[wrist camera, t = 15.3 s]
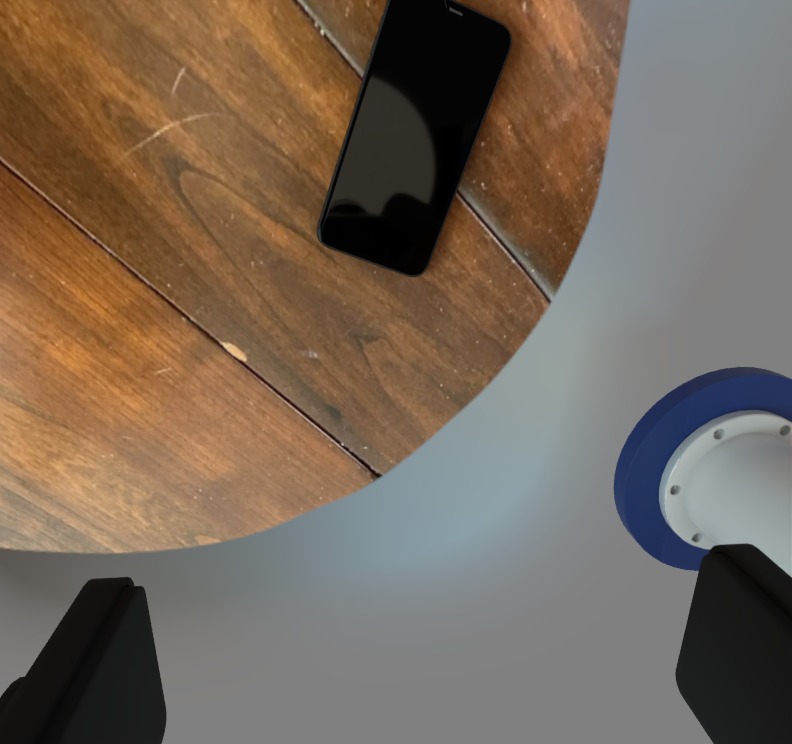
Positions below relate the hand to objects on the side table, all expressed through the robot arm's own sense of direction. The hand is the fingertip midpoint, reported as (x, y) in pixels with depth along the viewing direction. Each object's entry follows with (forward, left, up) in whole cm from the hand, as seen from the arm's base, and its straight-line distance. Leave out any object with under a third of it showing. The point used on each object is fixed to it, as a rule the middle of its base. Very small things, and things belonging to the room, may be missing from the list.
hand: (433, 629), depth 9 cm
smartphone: (-3, -9, -28) cm, 30 cm away
